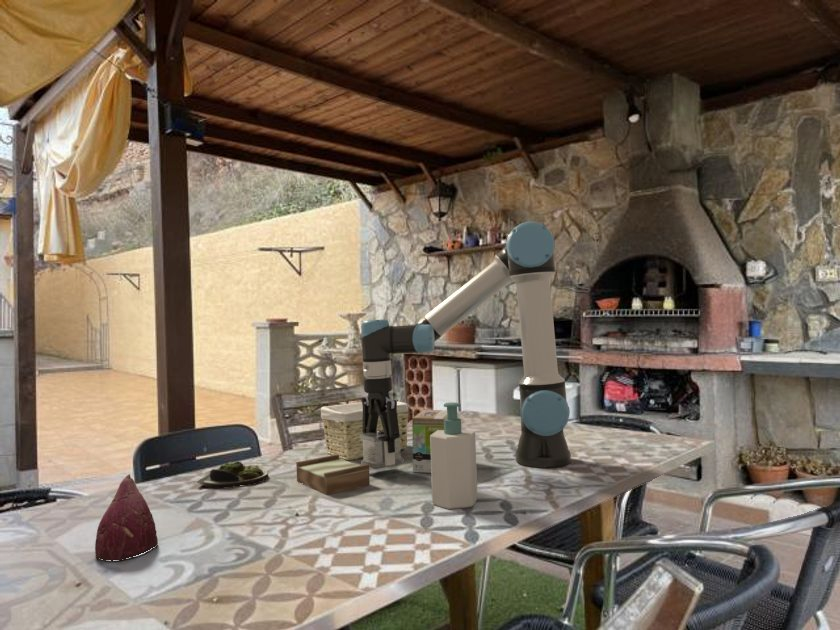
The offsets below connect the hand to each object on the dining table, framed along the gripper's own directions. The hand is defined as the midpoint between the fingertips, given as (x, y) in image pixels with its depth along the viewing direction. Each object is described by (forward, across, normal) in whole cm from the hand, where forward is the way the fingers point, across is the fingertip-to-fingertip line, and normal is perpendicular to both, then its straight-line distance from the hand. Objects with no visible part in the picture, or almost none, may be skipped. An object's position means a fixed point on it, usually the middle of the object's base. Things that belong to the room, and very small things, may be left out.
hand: (382, 462), depth 161 cm
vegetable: (+2, +13, -65) cm, 67 cm away
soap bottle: (+3, +32, -2) cm, 33 cm away
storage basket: (+3, -25, +10) cm, 27 cm away
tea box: (+3, +4, +15) cm, 16 cm away
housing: (0, 0, 0) cm, 0 cm away
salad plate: (+3, -22, -32) cm, 40 cm away
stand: (+3, 0, -15) cm, 15 cm away
